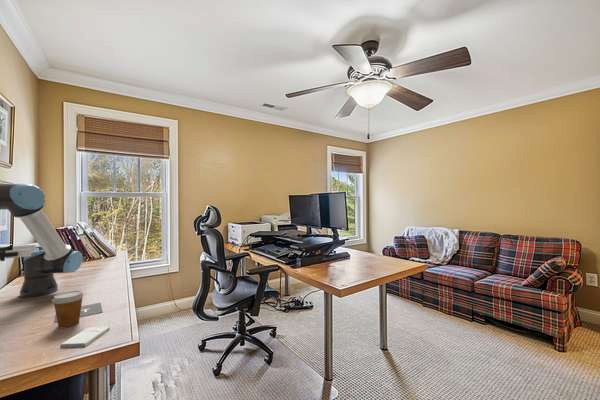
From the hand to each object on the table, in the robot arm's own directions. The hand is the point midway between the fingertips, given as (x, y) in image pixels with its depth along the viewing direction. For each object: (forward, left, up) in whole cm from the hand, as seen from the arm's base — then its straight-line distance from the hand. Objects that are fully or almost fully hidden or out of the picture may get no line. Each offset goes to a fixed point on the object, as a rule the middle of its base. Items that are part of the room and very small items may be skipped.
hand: (33, 250), depth 107 cm
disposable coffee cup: (+7, +10, -30) cm, 33 cm away
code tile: (-7, +14, -30) cm, 34 cm away
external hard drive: (+25, +16, -31) cm, 43 cm away
